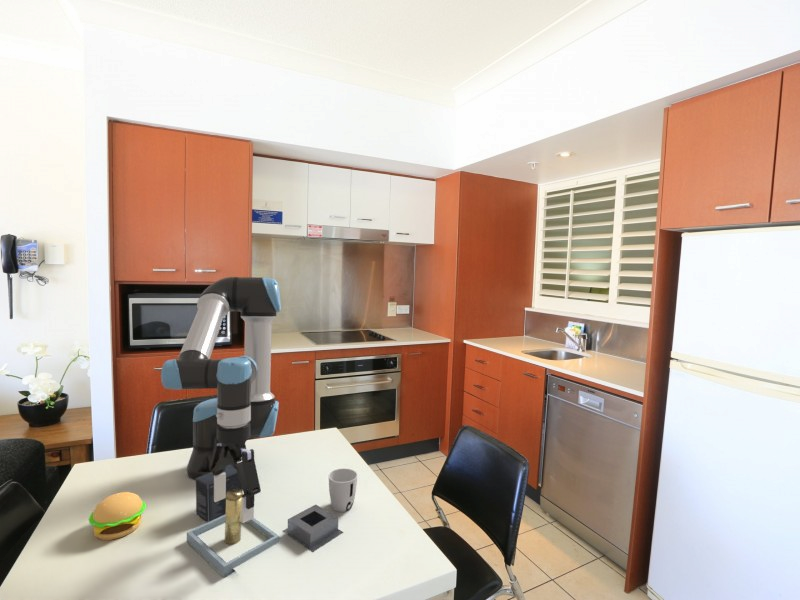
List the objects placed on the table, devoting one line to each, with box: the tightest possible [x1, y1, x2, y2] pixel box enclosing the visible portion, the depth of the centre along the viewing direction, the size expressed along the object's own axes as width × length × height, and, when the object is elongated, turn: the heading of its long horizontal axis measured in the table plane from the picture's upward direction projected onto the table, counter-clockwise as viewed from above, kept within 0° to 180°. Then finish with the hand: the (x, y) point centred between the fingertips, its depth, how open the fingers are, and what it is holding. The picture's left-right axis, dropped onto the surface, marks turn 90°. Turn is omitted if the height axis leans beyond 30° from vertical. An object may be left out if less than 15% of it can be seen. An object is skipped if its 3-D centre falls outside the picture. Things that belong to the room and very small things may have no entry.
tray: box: [186, 511, 280, 578], centre depth 100 cm, size 18×14×2 cm
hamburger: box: [88, 491, 147, 541], centre depth 104 cm, size 12×12×9 cm
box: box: [195, 465, 244, 523], centre depth 114 cm, size 11×7×10 cm, turn 145°
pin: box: [224, 489, 242, 546], centre depth 100 cm, size 4×4×12 cm
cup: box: [328, 468, 358, 513], centre depth 116 cm, size 8×8×10 cm
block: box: [282, 503, 344, 553], centre depth 104 cm, size 12×10×4 cm
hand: (233, 509), depth 100 cm, fingers open, 12 cm apart
